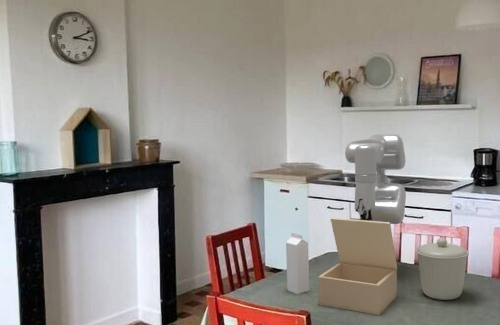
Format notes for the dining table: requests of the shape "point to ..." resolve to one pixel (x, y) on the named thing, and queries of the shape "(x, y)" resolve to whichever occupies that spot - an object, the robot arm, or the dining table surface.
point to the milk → (297, 264)
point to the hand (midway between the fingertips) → (366, 228)
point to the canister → (442, 269)
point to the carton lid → (364, 242)
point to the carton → (357, 287)
